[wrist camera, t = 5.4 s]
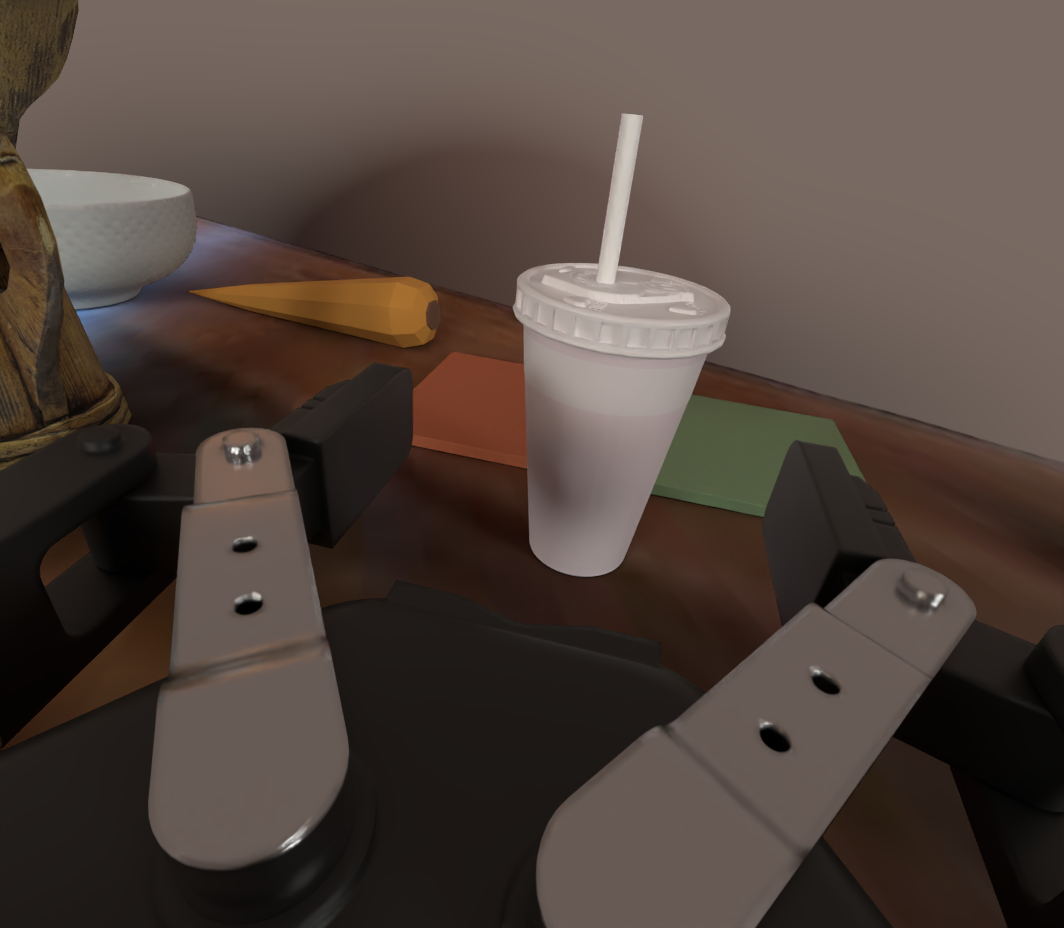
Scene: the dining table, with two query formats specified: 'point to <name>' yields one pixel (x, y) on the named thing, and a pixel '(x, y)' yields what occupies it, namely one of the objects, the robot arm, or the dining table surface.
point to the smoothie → (605, 386)
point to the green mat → (737, 453)
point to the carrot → (346, 306)
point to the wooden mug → (39, 261)
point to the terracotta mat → (473, 409)
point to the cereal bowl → (115, 231)
